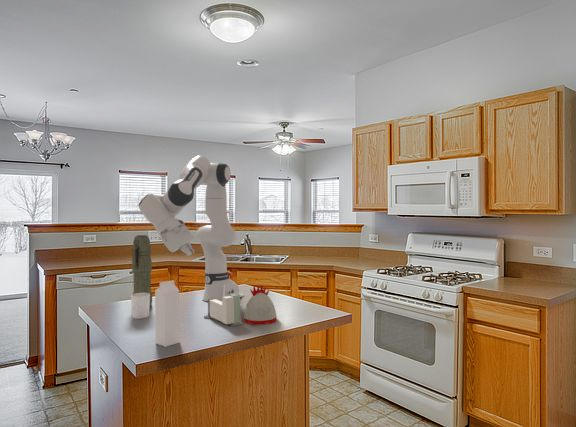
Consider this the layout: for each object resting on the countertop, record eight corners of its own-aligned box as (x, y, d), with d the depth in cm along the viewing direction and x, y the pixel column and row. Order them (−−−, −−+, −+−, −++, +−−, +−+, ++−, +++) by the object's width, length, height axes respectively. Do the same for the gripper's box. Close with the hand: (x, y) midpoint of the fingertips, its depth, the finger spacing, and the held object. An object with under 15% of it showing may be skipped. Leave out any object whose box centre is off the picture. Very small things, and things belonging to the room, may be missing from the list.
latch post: (227, 323, 169) (226, 294, 169) (237, 321, 172) (237, 293, 172) (232, 326, 165) (232, 296, 165) (243, 324, 168) (243, 295, 168)
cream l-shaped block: (209, 316, 177) (208, 292, 177) (216, 315, 179) (216, 291, 179) (226, 324, 164) (226, 298, 164) (234, 322, 166) (233, 297, 166)
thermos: (127, 310, 193) (126, 236, 192) (140, 304, 204) (139, 234, 204) (144, 310, 191) (143, 236, 191) (156, 305, 203) (156, 234, 202)
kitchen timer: (240, 317, 178) (240, 283, 178) (270, 314, 183) (270, 281, 183) (248, 326, 165) (248, 289, 165) (280, 322, 170) (280, 286, 170)
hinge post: (211, 314, 184) (211, 296, 184) (220, 316, 180) (220, 298, 180) (201, 317, 179) (200, 299, 179) (210, 319, 175) (209, 301, 175)
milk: (179, 342, 145) (179, 281, 145) (165, 347, 140) (164, 283, 140) (169, 339, 149) (169, 279, 149) (155, 343, 144) (154, 281, 144)
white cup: (130, 319, 176) (130, 296, 176) (132, 315, 183) (132, 293, 183) (149, 318, 178) (149, 295, 178) (150, 314, 186) (150, 292, 185)
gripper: (164, 227, 155) (188, 254, 155) (184, 219, 175) (205, 244, 175) (152, 237, 156) (176, 265, 156) (173, 229, 176) (194, 253, 176)
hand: (191, 254), depth 166 cm, fingers closed
